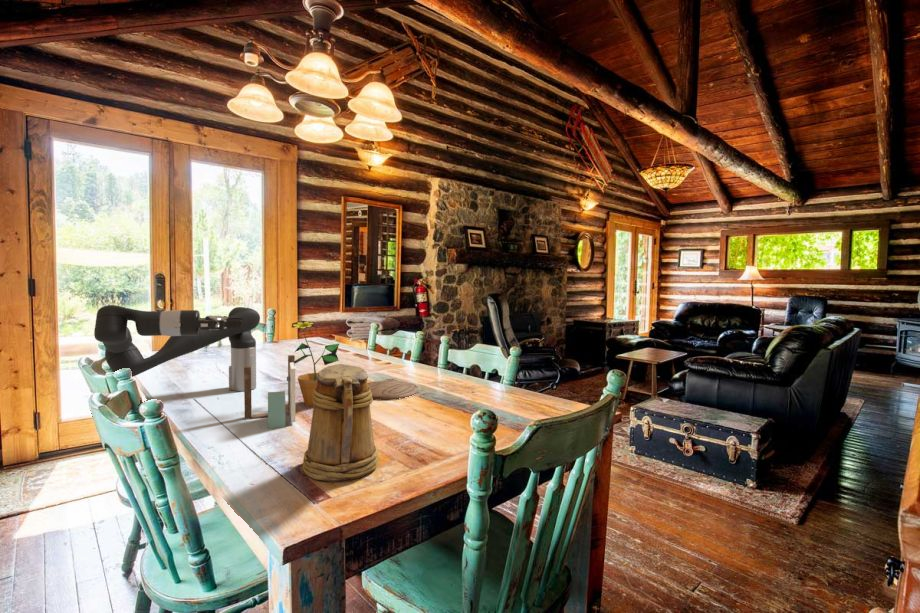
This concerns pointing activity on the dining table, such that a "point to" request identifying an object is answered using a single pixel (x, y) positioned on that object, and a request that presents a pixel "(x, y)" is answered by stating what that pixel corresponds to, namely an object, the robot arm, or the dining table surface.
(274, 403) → the teal block
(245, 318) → the robot arm
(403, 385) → the trivet
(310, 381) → the potted plant
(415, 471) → the dining table surface
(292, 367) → the cream door
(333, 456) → the tankard
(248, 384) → the door frame
